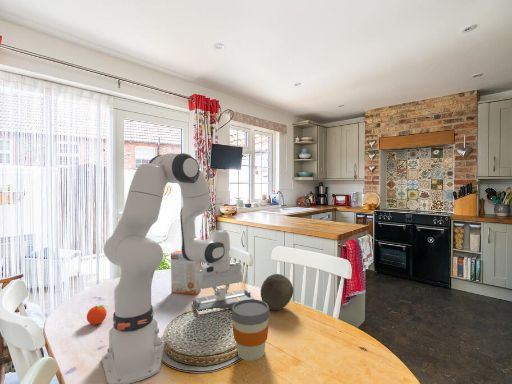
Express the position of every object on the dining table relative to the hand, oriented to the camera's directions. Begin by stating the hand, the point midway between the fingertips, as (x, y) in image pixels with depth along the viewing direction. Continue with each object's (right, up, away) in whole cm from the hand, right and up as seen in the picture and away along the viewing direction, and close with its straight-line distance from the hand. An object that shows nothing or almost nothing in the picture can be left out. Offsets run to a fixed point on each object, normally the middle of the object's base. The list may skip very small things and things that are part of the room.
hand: (220, 294), depth 123 cm
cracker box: (-20, -5, +15) cm, 25 cm away
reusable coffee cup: (+15, -6, -35) cm, 38 cm away
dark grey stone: (+26, -5, -4) cm, 26 cm away
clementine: (-48, -6, -16) cm, 50 cm away
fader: (0, -2, 0) cm, 2 cm away
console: (+1, -5, +1) cm, 5 cm away
